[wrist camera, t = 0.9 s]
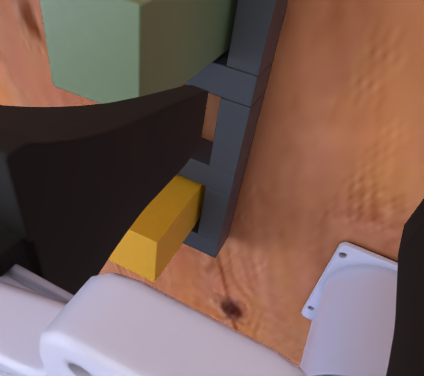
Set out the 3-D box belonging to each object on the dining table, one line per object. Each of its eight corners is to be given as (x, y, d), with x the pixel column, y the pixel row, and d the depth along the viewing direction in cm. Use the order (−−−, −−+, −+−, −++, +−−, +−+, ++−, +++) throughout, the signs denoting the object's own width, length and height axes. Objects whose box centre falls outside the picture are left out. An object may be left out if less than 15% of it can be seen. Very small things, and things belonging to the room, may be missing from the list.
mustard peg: (207, 208, 30) (154, 283, 24) (163, 189, 31) (102, 257, 25) (214, 169, 27) (157, 243, 21) (166, 149, 28) (98, 215, 22)
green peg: (237, 42, 21) (139, 119, 14) (175, 23, 22) (52, 86, 15) (253, -39, 18) (140, 4, 11) (180, -57, 19) (34, -28, 12)
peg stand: (227, 237, 31) (215, 258, 29) (140, 198, 32) (123, 216, 31) (309, -84, 16) (295, -82, 14) (144, -120, 18) (114, -121, 16)
